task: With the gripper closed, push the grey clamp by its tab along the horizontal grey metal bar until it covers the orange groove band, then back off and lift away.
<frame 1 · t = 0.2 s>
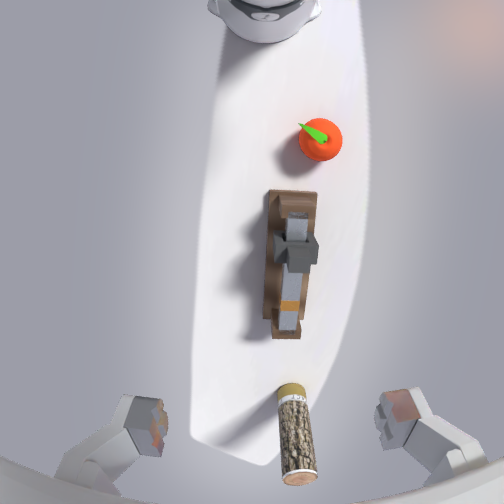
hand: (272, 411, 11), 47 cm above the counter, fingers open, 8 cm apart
grey clamp: (295, 251, 49), point 9 cm above the counter, slide at 0.0 cm
paper tube: (290, 390, 73), on the counter
grey metal bar: (291, 275, 53), point 7 cm above the counter
clementine: (313, 136, 51), on the counter
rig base: (287, 257, 59), on the counter
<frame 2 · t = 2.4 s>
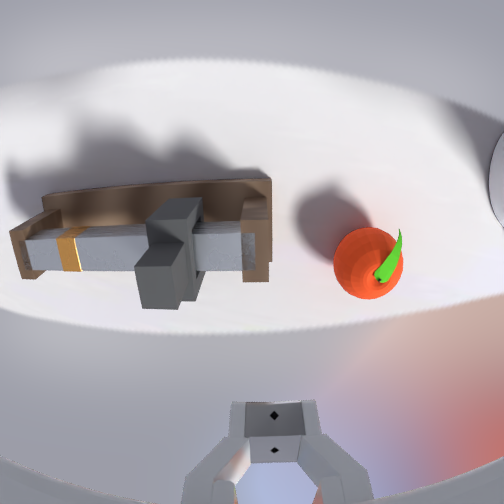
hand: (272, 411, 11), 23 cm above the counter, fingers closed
grey clamp: (174, 255, 24), point 9 cm above the counter, slide at 0.0 cm
grey metal bar: (124, 247, 26), point 7 cm above the counter
clementine: (361, 244, 33), on the counter
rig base: (149, 221, 32), on the counter
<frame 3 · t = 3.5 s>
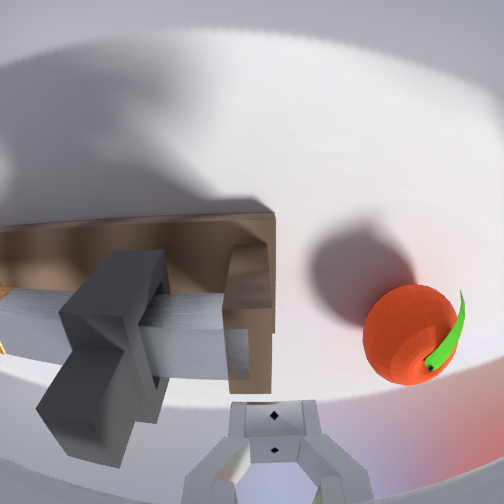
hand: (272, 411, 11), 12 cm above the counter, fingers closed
grey clamp: (118, 356, 13), point 9 cm above the counter, slide at 0.0 cm
grey metal bar: (53, 326, 15), point 7 cm above the counter
clementine: (397, 301, 23), on the counter
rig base: (100, 272, 22), on the counter
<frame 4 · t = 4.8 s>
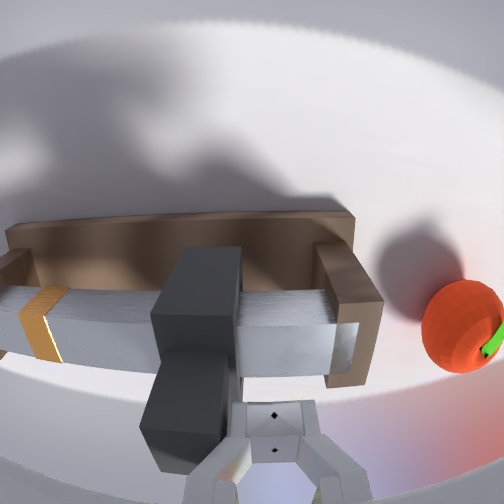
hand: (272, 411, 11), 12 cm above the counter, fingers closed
grey clamp: (204, 359, 14), point 9 cm above the counter, slide at 0.7 cm, touching gripper
grey metal bar: (127, 330, 15), point 7 cm above the counter
clementine: (447, 296, 23), on the counter
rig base: (161, 270, 22), on the counter
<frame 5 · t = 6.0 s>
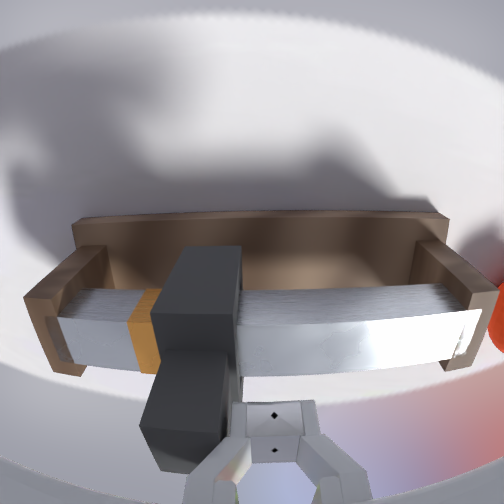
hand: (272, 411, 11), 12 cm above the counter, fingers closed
grey clamp: (204, 358, 14), point 9 cm above the counter, slide at 7.6 cm, touching gripper
grey metal bar: (263, 332, 15), point 7 cm above the counter
clementine: (502, 290, 22), on the counter
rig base: (262, 269, 22), on the counter
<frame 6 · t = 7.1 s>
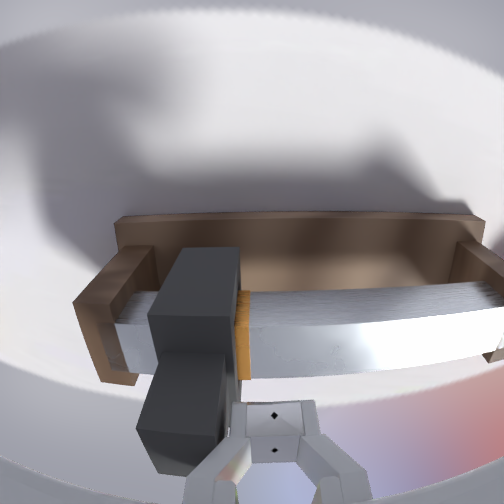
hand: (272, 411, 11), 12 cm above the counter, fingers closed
grey clamp: (202, 360, 13), point 9 cm above the counter, slide at 11.1 cm, touching gripper
grey metal bar: (333, 331, 15), point 7 cm above the counter
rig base: (312, 269, 21), on the counter
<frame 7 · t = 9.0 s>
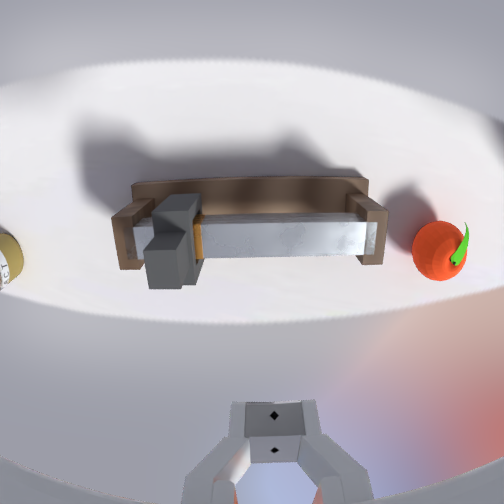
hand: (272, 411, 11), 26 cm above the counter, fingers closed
grey clamp: (177, 244, 27), point 9 cm above the counter, slide at 11.1 cm
paper tube: (10, 253, 37), on the counter
grey metal bar: (249, 234, 29), point 7 cm above the counter
clementine: (428, 236, 36), on the counter
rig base: (250, 213, 35), on the counter
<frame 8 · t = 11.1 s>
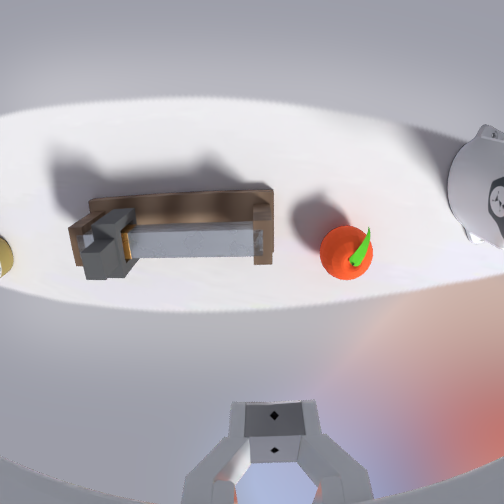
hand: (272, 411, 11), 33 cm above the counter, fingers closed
grey clamp: (111, 247, 35), point 9 cm above the counter, slide at 11.1 cm
paper tube: (3, 253, 45), on the counter
grey metal bar: (165, 240, 36), point 7 cm above the counter
clementine: (341, 239, 44), on the counter
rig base: (178, 221, 43), on the counter
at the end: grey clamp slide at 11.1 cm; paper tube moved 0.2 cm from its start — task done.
